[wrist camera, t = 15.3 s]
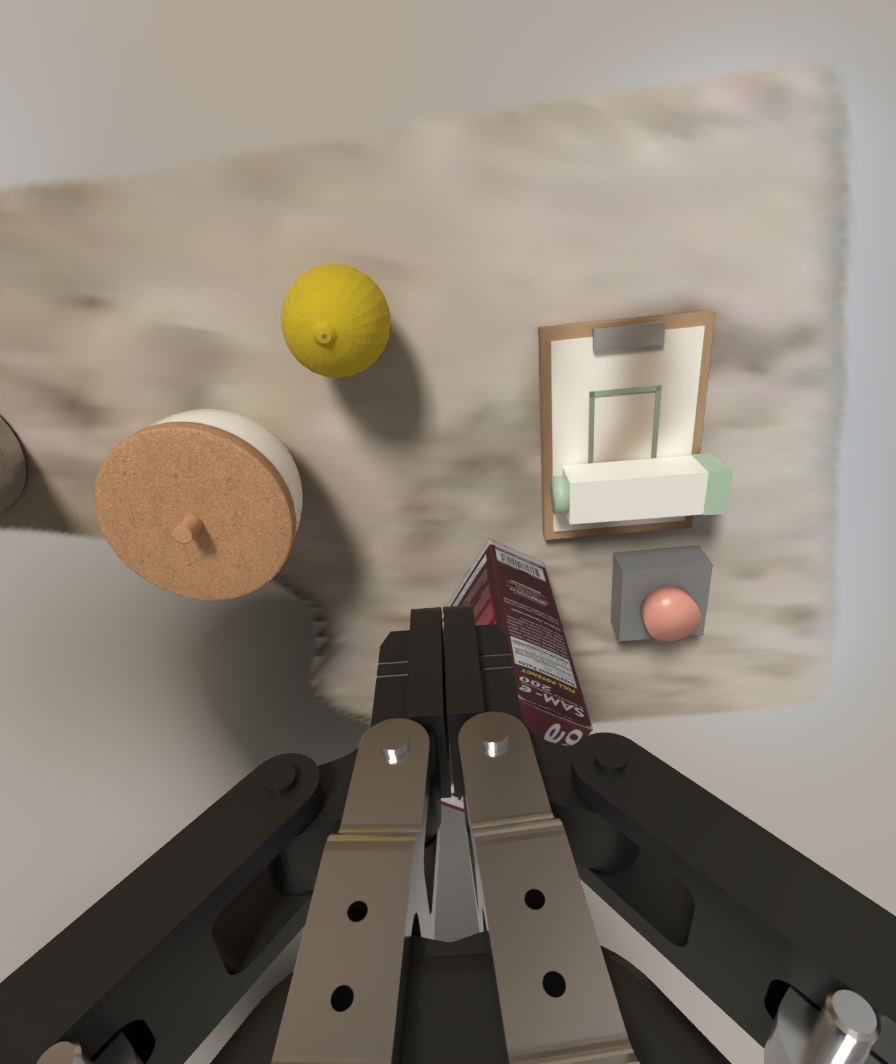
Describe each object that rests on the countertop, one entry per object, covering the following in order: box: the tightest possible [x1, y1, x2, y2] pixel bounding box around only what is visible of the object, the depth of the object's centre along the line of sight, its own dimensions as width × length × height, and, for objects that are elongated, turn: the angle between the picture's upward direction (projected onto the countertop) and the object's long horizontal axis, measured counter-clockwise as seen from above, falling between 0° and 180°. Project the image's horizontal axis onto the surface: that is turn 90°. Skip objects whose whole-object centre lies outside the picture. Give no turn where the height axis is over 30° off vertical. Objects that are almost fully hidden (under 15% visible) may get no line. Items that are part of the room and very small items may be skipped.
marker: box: [550, 453, 733, 524], centre depth 37 cm, size 3×3×10 cm
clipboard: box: [538, 310, 715, 540], centre depth 38 cm, size 10×14×1 cm
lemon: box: [281, 264, 391, 378], centre depth 31 cm, size 6×6×8 cm
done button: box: [640, 586, 701, 642], centre depth 41 cm, size 4×4×2 cm
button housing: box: [611, 546, 713, 641], centre depth 43 cm, size 6×6×2 cm
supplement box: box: [441, 540, 593, 812], centre depth 37 cm, size 9×5×16 cm, turn 153°
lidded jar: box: [94, 409, 303, 600], centre depth 35 cm, size 11×11×9 cm
